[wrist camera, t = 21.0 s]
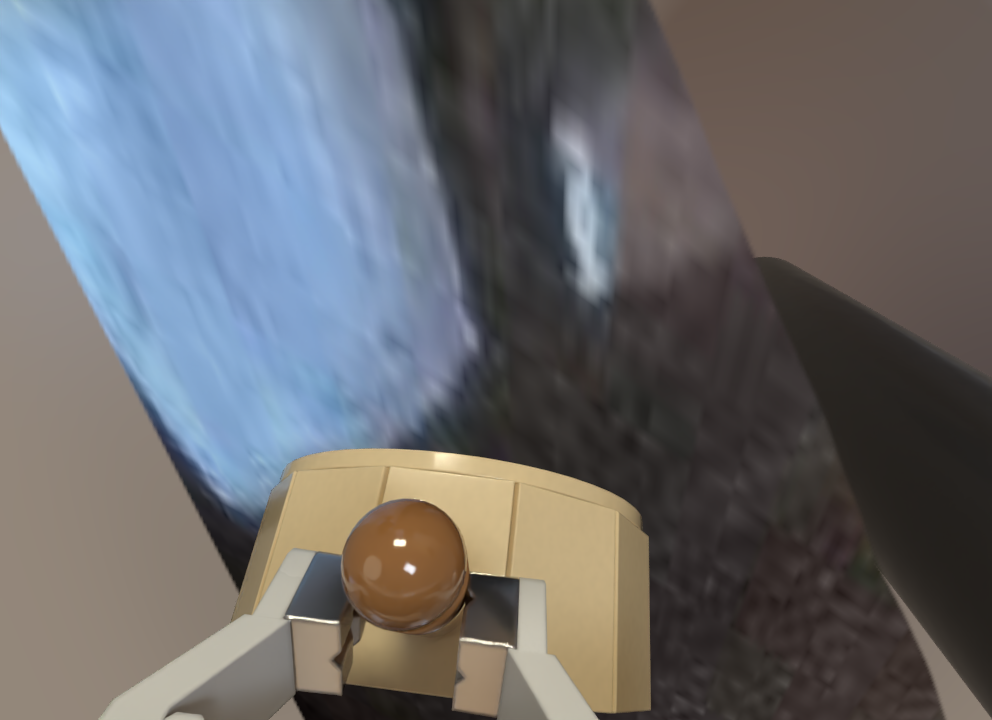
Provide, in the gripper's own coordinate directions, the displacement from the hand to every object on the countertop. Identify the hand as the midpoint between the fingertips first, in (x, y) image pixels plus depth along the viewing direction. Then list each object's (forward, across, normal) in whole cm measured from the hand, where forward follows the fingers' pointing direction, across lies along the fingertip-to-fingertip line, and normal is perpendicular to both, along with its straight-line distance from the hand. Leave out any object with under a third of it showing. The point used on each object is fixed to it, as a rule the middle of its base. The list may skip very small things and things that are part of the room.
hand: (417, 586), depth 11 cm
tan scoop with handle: (+7, 0, +3) cm, 8 cm away
